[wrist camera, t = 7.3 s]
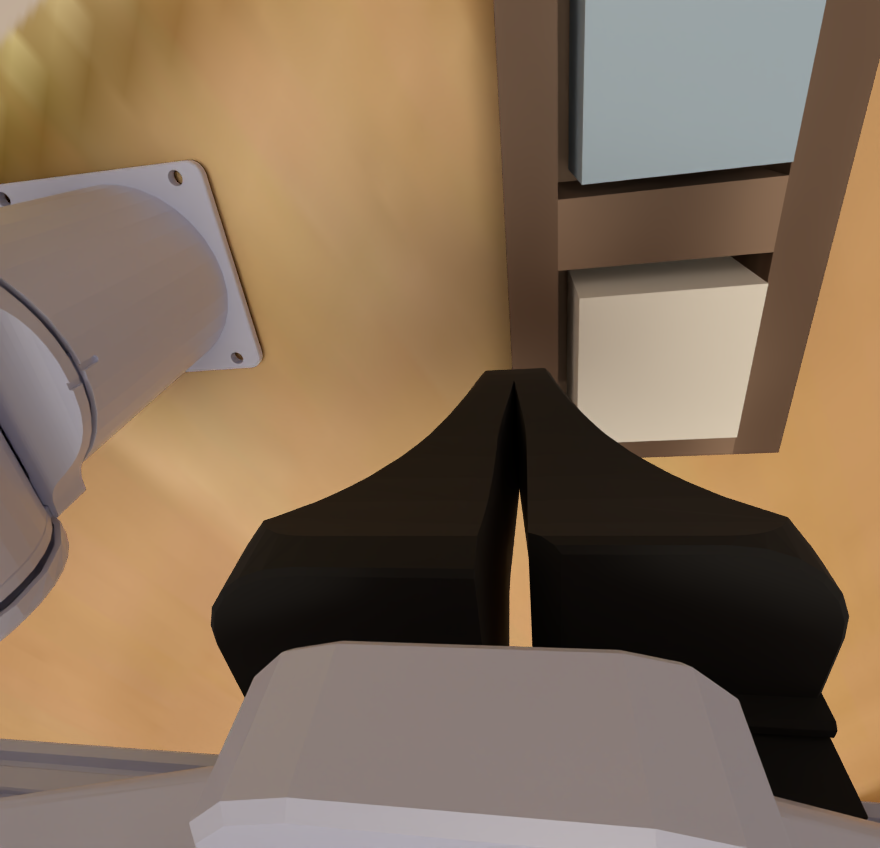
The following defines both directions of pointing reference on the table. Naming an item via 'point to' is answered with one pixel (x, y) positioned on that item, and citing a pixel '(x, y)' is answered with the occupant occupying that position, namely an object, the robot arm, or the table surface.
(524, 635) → the table surface
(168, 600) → the table surface
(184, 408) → the table surface
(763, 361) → the brown wooden frame
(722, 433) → the ivory key
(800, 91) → the blue key
